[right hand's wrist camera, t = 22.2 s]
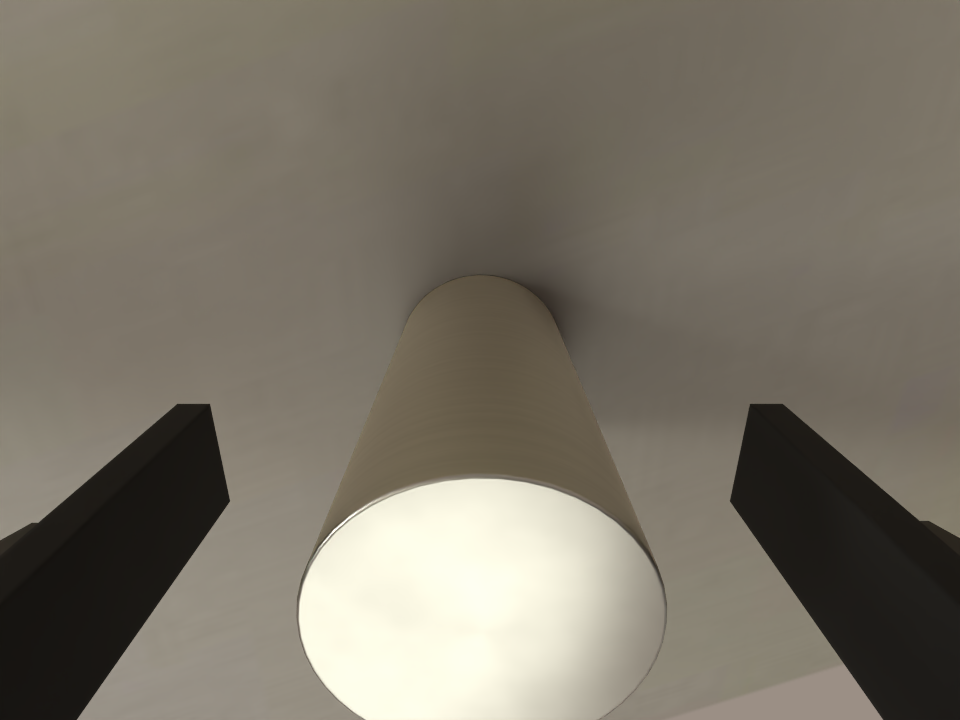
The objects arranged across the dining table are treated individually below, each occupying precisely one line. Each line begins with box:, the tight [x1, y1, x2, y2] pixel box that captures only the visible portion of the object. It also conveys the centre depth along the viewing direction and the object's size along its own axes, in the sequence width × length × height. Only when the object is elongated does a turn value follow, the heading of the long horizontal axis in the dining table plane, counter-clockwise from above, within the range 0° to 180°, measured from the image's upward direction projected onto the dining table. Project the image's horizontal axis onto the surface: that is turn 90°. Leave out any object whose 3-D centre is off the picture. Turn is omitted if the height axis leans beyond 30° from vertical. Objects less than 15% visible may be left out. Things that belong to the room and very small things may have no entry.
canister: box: [297, 275, 667, 720], centre depth 14 cm, size 6×6×12 cm
